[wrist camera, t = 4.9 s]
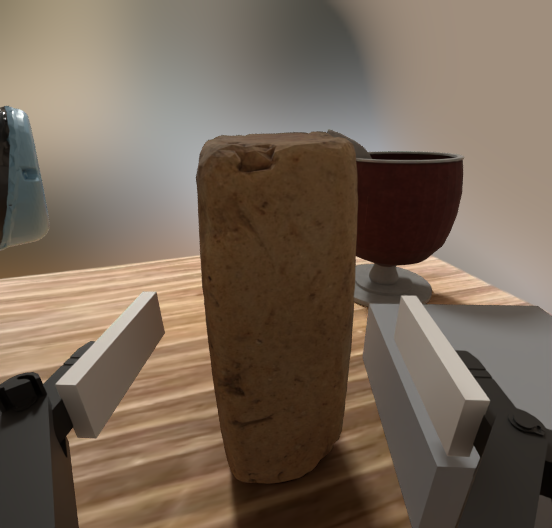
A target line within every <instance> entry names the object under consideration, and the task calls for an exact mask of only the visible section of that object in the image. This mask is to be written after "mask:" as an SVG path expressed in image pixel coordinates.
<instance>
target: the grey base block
mask: <svg viewBox="0 0 552 528" xmlns="http://www.w3.org/2000/svg"><path fill="white" fill-rule="evenodd" d="M399 305H400V304H369V309H368V318H367V326H366V334H365V342H364V351H363V360H364V364H365V367H366V371H367V374H368V378H369V381H370V385H371V388H372V391H373V395H374V398H375V402H376V405H377V409H378V412H379V415H380V419H381V422H382V426H383V429H384V433H385V436H386V439H387V443H388V446H389V450H390V453H391V457H392V460H393V464H394V467H395V470H396V474H397V477H398V481H399V484H400V488H401V491H402V494H403V498H404V501H405V505H406V508H407V512H408V515H409V518H410V522H411V525H412V528H455V526H456V523H457V520H458V518H459V515H460V512H461V509H462V506H463V504H464V501H465V498H466V495H467V492H468V489H469V487H470V484H471V481H472V478H473V474H474V472H475V469H476V467H477V464H478V461H479V459H480V456H479V454H478V452H477V451H476V449H475V447H474V446H473V449H472V452H471V454H470V457H459V456H447V454H446V452H445V450H444V448H443V446H442V443H441V441H440V439H439V437H438V435H437V432H436V430H435V428H434V426H433V424H432V421H431V419H430V417H429V415H428V413H427V410H426V408H425V406H424V404H423V402H422V399H421V397H420V395H419V393H418V391H417V389H416V386H415V384H414V382H413V380H412V378H411V375H410V373H409V371H408V369H407V367H406V364H405V362H404V360H403V358H402V356H401V353H400V351H399V349H398V347H397V345H396V342H395V340H394V334H395V328H396V322H397V316H398V310H399ZM422 305H423V306H424V308H425V309H426V310H427V312H428V313H429V315H430V316H431V317H432V319H433V320H434V322H435V323H436V325H437V326H438V327H439V329H440V330H441V332H442V333H443V334H444V336H445V337H446V339H447V340H448V341H449V343H450V344H451V346H452V347H453V349H454V350H463V351H468V352H469V353H471V354H472V355H473V356H475V357H476V358H477V359H478V360H479V361H480V362H481V363H482V365H483V366H484V367H485V368H486V371H488V372H489V374H490V375H491V376H492V379H494V380H495V381H496V383H497V384H498V385H499V386H500V388H501V389H502V390H503V392H504V393H505V394H506V395H507V397H508V398H509V399H510V400H511V402H512V403H513V404H514V406H515V407H516V408H518V409H521V410H524V411H526V412H528V413H530V414H531V415H533V416H535V417H536V418H537V419H538V420H539V421H540V422H542V423H543V425H544V426H545V428H547V429H550V430H552V316H551V315H549V314H548V313H547V312H545V311H544V310H543V309H541V308H540V307H539V306H511V305H436V304H422ZM534 528H552V501H551V499H550V498H547V497H545V496H542V495H539V501H538V508H537V514H536V520H535V526H534Z"/></svg>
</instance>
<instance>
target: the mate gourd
mask: <svg viewBox="0 0 552 528" xmlns="http://www.w3.org/2000/svg"><path fill="white" fill-rule="evenodd" d="M327 133H328V134H330V135H331V136H333V137H334V138H335V137H342V138H346V139H347V140H349V141H350V142H351V143H352V144H353V145H354V149H355V153H356V165H357V194H358V211H357V240H356V256H357V257H359V258H362V259H364V260H367V261H370V262H373V263H375V264H364V265H357V266H356V269H355V291H354V302H356V303H358V304H361V305H364V306H367V307H369V304H400V299H401V296H417V298H418V299H419V300H420V302H421V303H422V304H426V303H428V302H429V300H430V298H431V295H432V288H431V286H430V284H429V283H428V282H427V281H426V280H425V279H424V278H422V277H421V276H419V275H417V274H416V273H413V272H411V271H408V270H405V269H402V268H398V267H396V266H397V265H409V264H415V263H419V262H422V261H424V260H426V259H427V258H428V257H429V256H431V255H432V254H433V253H434V252H435V251H437V250H438V249H439V248H440V247H442V246H443V244H444V243H445V241H446V239H447V237H448V235H449V233H450V231H451V229H452V226H453V224H454V221H455V218H456V216H457V213H458V208H459V204H460V199H461V195H462V184H463V159H464V156H462V155H458V154H450V153H437V152H407V151H406V152H403V151H397V152H396V151H392V152H391V151H388V152H367V151H366V150H365V149H364V147H363V146H361V145H360V144H358V143H357V142H356V141H354V140H352V139H350V138H348V137H346V136H344V135H342V134H340V133H338V132H334V131H333V130H328V132H327Z"/></svg>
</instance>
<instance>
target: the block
mask: <svg viewBox="0 0 552 528" xmlns="http://www.w3.org/2000/svg"><path fill="white" fill-rule="evenodd" d="M196 182H197V193H198V217H199V237H200V257H201V271H202V288H203V294H204V305H205V314H206V326H207V335H208V343H209V351H210V358H211V367H212V376H213V383H214V389H215V395H216V402H217V408H218V415H219V421H220V427H221V433H222V438H223V442H224V448H225V452H226V456H227V460H228V464H229V467H230V470H231V472H232V473H233V475H234V476H235V478H236V479H238V480H240V481H242V482H247V483H268V484H271V483H278V482H284V481H289V480H293V479H296V478H300V477H302V476H303V475H305V474H306V473H308V472H309V471H312V470H313V469H314V468H315V466H316V465H317V464H318V462H319V461H320V460H321V459H322V458H323V457H324V456H326V455H327V454H328V453H329V452H330V451H331V450H332V447H333V444H334V443H335V442H336V441H337V440H338V439H339V437H340V434H341V432H342V425H343V417H344V410H345V398H346V392H347V382H348V372H349V361H350V354H351V343H352V326H353V313H354V291H355V269H356V240H357V211H358V194H357V165H356V153H355V149H354V145H353V144H352V143H351V142H350V141H349V140H347V139H346V138H342V137H335V138H334V137H333V136H331V135H330V134H328V133H326V132H318V131H317V132H311V133H309V134H308V133H302V132H300V133H298V132H293V133H276V134H249V135H246V136H242V135H236V136H226V135H221V136H218V137H216V138H214V139H212V140H208V141H207V142H206V143H205V144H204V146H203V147H202V150H201V153H200V157H199V165H198V169H197V175H196Z"/></svg>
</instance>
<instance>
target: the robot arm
mask: <svg viewBox="0 0 552 528" xmlns="http://www.w3.org/2000/svg"><path fill="white" fill-rule="evenodd" d="M48 230H49V217H48V211H47V206H46V200H45V194H44V189H43V184H42V179H41V174H40V169H39V164H38V159H37V154H36V149H35V144H34V139H33V135H32V130H31V126H30V123H29V119H28V116H27V114H26V113H25V112H24V111H23V110H20V109H15V108H12V107H9V106H4V107H1V108H0V250H4V249H6V248H7V247H11V246H16V245H20V244H25V243H30V242H34V241H37V240H40V239H41V238H43V237H44V236H45V235H46V233H47V232H48ZM164 334H165V331H164V326H163V322H162V317H161V312H160V307H159V302H158V298H157V293H156V292H142V293H141V294H140V295H139V296H138V297H137V298H136V299H135V301H134V302H133V303H132V304H131V305H130V306H129V307H128V308H127V309H126V310H125V311H124V312H123V313H122V314H121V315H120V316H119V317H118V318H117V319H116V321H115V322H114V323H113V324H112V325H111V326H110V327H109V328H108V329H107V330H106V331H105V332H104V333H103V334H102V335H101V336H100V337H99V338H98V340H97V341H90V342H88V343H87V344H85V345H84V346H82V347H80V348H79V349H78V350H77V351H76V352H75V353H74V354H73V355H72V356H71V357H70V359H68V360H67V361H66V362H65V363H64V365H63V366H61V367H60V368H59V369H58V370H57V371H56V372H55V373H54V374H53V375H52V376H51V377H50V378H49V379H48V380H47V381H46V382H45V383H44V384H43V383H42V381H41V379H40V377H39V375H38V374H37V373H34V372H30V373H23V374H19V375H16V376H14V377H12V378H10V379H8V380H6V381H5V382H3V383H2V384H0V528H79V525H78V517H77V508H76V500H75V491H74V483H73V474H72V466H71V457H70V449H69V441H68V439H67V437H66V436H67V434H68V433H69V432H70V430H71V429H72V428H74V430H75V433H76V435H77V438H97V437H98V435H99V434H100V432H101V430H102V429H103V427H104V426H105V424H106V423H107V421H108V420H109V418H110V417H111V415H112V414H113V412H114V410H115V409H116V407H117V406H118V404H119V403H120V401H121V400H122V398H123V397H124V395H125V394H126V392H127V390H128V389H129V387H130V386H131V384H132V383H133V381H134V380H135V378H136V377H137V375H138V374H139V372H140V370H141V369H142V367H143V366H144V364H145V363H146V361H147V360H148V358H149V357H150V355H151V354H152V352H153V350H154V349H155V347H156V346H157V344H158V343H159V341H160V340H161V338H162V337H163V335H164ZM394 340H395V342H396V345H397V347H398V349H399V351H400V353H401V356H402V358H403V360H404V362H405V364H406V367H407V369H408V371H409V373H410V375H411V378H412V380H413V382H414V384H415V386H416V389H417V391H418V393H419V395H420V397H421V399H422V402H423V404H424V406H425V408H426V410H427V413H428V415H429V417H430V419H431V421H432V424H433V426H434V428H435V430H436V432H437V435H438V437H439V439H440V441H441V443H442V446H443V448H444V450H445V452H446V454H447V456H459V457H470V454H471V452H472V449H473V446H474V447H475V449H476V451H477V452H478V454H479V456H480V459H479V461H478V464H477V467H476V469H475V472H474V474H473V478H472V481H471V484H470V487H469V489H468V492H467V495H466V498H465V501H464V504H463V506H462V509H461V512H460V515H459V518H458V520H457V523H456V526H455V528H534V526H535V520H536V514H537V508H538V501H539V495H542V496H545V497H547V498H550V499H551V501H552V430H550V429H547V428H545V426H544V425H543V423H542V422H540V421H539V420H538V419H537V418H536V417H535V416H533V415H531V414H530V413H528V412H526V411H524V410H521V409H518V408H516V407H515V406H514V404H513V403H512V402H511V400H510V399H509V398H508V397H507V395H506V394H505V393H504V392H503V390H502V389H501V388H500V386H499V385H498V384H497V383H496V381H495V380H494V379H492V376H491V375H490V374H489V372H488V371H486V368H485V367H484V366H483V365H482V363H481V362H480V361H479V360H478V359H477V358H476V357H475V356H473V355H472V354H471V353H469V352H468V351H463V350H454V349H453V347H452V346H451V344H450V343H449V341H448V340H447V339H446V337H445V336H444V334H443V333H442V332H441V330H440V329H439V327H438V326H437V325H436V323H435V322H434V320H433V319H432V317H431V316H430V315H429V313H428V312H427V310H426V309H425V308H424V306H423V305H422V303H421V302H420V300H419V299H418V298H417V296H401V299H400V305H399V310H398V316H397V322H396V328H395V334H394Z"/></svg>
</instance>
